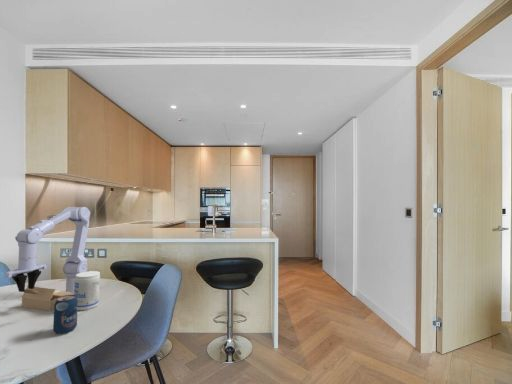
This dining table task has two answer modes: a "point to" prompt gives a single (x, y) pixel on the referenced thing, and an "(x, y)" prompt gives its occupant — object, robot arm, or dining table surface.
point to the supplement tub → (87, 289)
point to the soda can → (65, 314)
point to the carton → (42, 303)
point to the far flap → (39, 293)
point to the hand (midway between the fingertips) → (26, 290)
